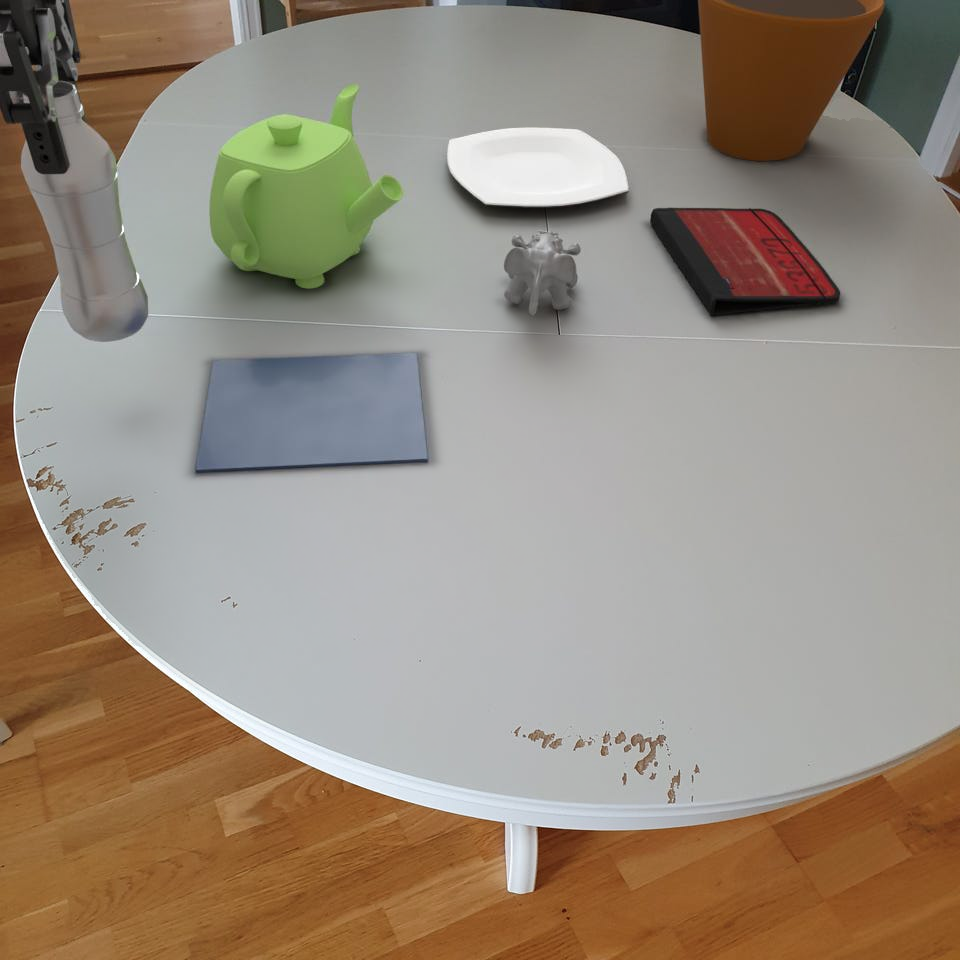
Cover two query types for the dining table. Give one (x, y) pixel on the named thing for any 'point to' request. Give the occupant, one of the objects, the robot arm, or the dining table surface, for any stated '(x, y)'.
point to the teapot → (296, 195)
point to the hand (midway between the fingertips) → (63, 151)
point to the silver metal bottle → (88, 229)
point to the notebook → (742, 259)
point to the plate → (535, 167)
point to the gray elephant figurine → (541, 269)
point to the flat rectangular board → (312, 412)
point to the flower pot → (775, 68)
